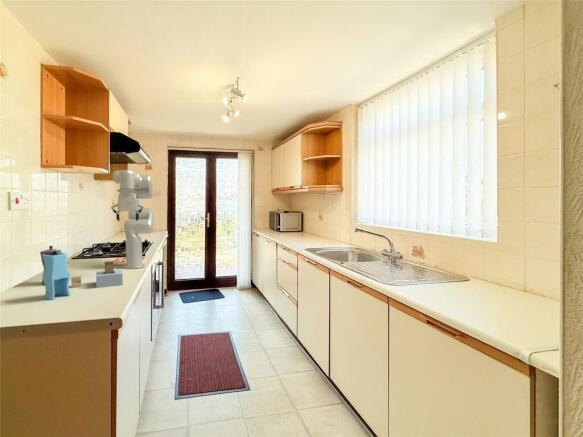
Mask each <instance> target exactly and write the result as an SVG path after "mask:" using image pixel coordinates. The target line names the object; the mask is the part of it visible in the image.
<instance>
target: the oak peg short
mask: <svg viewBox="0 0 583 437" xmlns="http://www.w3.org/2000/svg"><path fill="white" fill-rule="evenodd" d="M70 280H71V281H70V283H71V284H70V285H71V289H72V288H73V289H75V288H81V287H82V276H81V275H76V276H71V277H70Z"/></svg>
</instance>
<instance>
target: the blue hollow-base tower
mask: <svg viewBox="0 0 583 437" xmlns="http://www.w3.org/2000/svg"><path fill="white" fill-rule="evenodd" d="M68 255H69V253H66V252H62V251H61V252H58V255H54V256H49V255H44V254H43V255H42V257H43V259H44V262H45V271H44V270H43V272H44V274H43V273H42V280H43V281H44V284H43V285H44V288H45V293H44V294H45V295H44V299H47V300H50V301H53V300H55V298H56V297H55V296H58V295H64V296H67V297H71V291H70V288H69V287H70V285H69V284H70V280H71V274H70V271H69V269H68V267H67V260H68Z"/></svg>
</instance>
